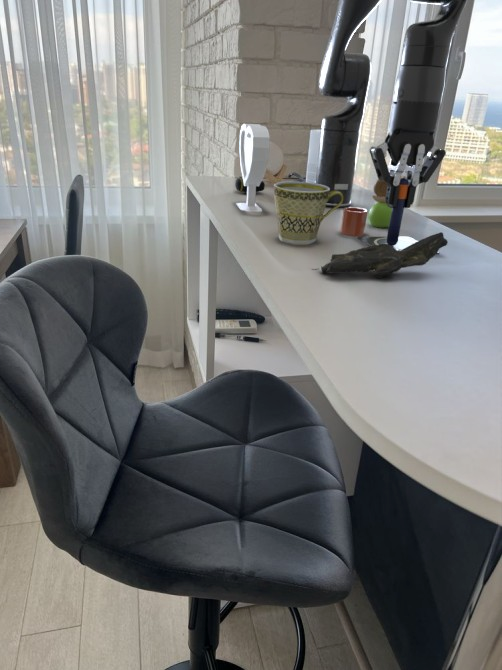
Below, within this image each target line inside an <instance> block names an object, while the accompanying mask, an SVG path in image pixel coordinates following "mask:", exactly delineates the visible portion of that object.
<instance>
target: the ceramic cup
mask: <svg viewBox="0 0 502 670" xmlns="http://www.w3.org/2000/svg"><path fill="white" fill-rule="evenodd" d="M335 194H339V195H340V196H341V201H340V203H339V204H338V205H336V206H335V207H332V208H330V209H329V210H328V211H327V212H326V213H325V209H326V207H327V206H326V203H327V201H328V200H329V198H330V197H331V196H333V195H335ZM273 195H274V204H275V210H276V222H277V233H278V239H279V240H280V241H281V242H283V243H287V244H291V245H310V244H313V243H315V242H316V241H317V238H318V233H319V230H320V226H321V224H322V222H323V220H324V219H326V218H327V217H329V215H330V214H331V213H333V211H335V210H336V209H338V208H340V207H339V206H340V205H341V204H342V202H343V194H342V193H341V192H340V191H331V192H330V188H329V187H327V186H325V185H321V184H316V183H309V182H306V181H302V182H294V180H292V181H279V182H276V183H274V184H273ZM324 213H325V214H324Z"/></svg>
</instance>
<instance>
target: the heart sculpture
mask: <svg viewBox="0 0 502 670" xmlns="http://www.w3.org/2000/svg"><path fill="white" fill-rule="evenodd" d="M270 139H271V138H270V132H269V130H268V127H266V125H261V124H260V123H257V124H256V123H243V124H242V125H241V126H240V129H239V164H240V172H241V177H243V183H244V186H247V193H246V202H236V203H235V205H236V206H237V207H238V208H239V210H240V211H245V212H246V213H262V212H263V209H262V208H261V207H260V206H259V205H258V204H257V203H256V195H257V194H256V193H257V192H256V186H259V185H260V183H261V181H263V180H264V177H265V176H266V172H267V168H268V165H269V156H270Z"/></svg>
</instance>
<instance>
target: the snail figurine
mask: <svg viewBox="0 0 502 670" xmlns="http://www.w3.org/2000/svg"><path fill="white" fill-rule="evenodd" d="M404 172H405V174H406V170H404ZM401 178H406V175H401ZM373 192H374V194H375V195H372V196H371V198H372V199H373V200H374V201H375V202H376V203H374V204H372V206H371V207H370V209H369V210H368V213H367V218H368V221H369V223H370V224H371V225H372V226H373V227H374V228H380V229H386V228H389V223H390V218H391V212H392V208H390V207H388V206H387V203H386V202H385V198H386V192H387V183H386V182H384V181H382V180H379V179H378V178H377V179H376V181H375V182H374V183H373Z"/></svg>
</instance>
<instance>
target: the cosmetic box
mask: <svg viewBox="0 0 502 670" xmlns="http://www.w3.org/2000/svg"><path fill="white" fill-rule="evenodd" d="M320 134H321V129H310V134H309V144H308V153H307V154H308V155H307V165H306V175H305V182H309V183H315V181H316V173H317V163H318V154H319V144H320Z"/></svg>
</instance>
